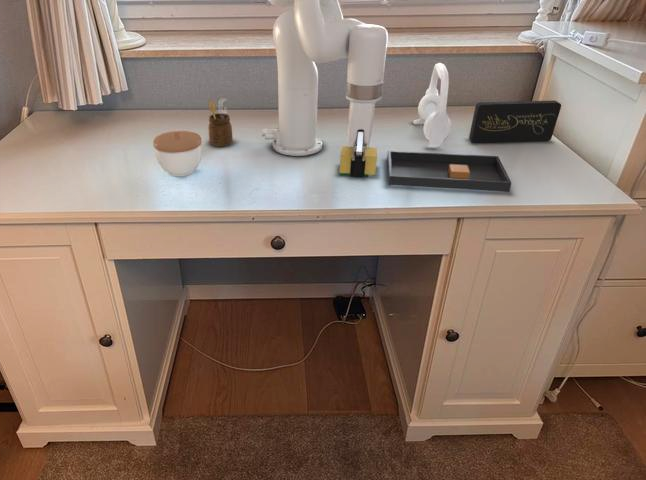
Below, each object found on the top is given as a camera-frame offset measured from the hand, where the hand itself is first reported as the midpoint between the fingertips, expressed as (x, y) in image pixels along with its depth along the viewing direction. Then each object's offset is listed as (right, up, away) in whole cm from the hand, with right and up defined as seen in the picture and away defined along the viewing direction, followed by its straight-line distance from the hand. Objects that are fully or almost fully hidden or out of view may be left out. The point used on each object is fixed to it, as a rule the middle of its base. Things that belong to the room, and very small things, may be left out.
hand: (357, 170), depth 118 cm
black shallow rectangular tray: (+19, -2, -2) cm, 20 cm away
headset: (+22, +13, +18) cm, 31 cm away
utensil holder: (-33, +10, +15) cm, 38 cm away
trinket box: (-41, 0, +1) cm, 41 cm away
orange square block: (+22, -2, -3) cm, 23 cm away
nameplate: (+42, +10, +15) cm, 45 cm away
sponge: (0, 0, 0) cm, 0 cm away
